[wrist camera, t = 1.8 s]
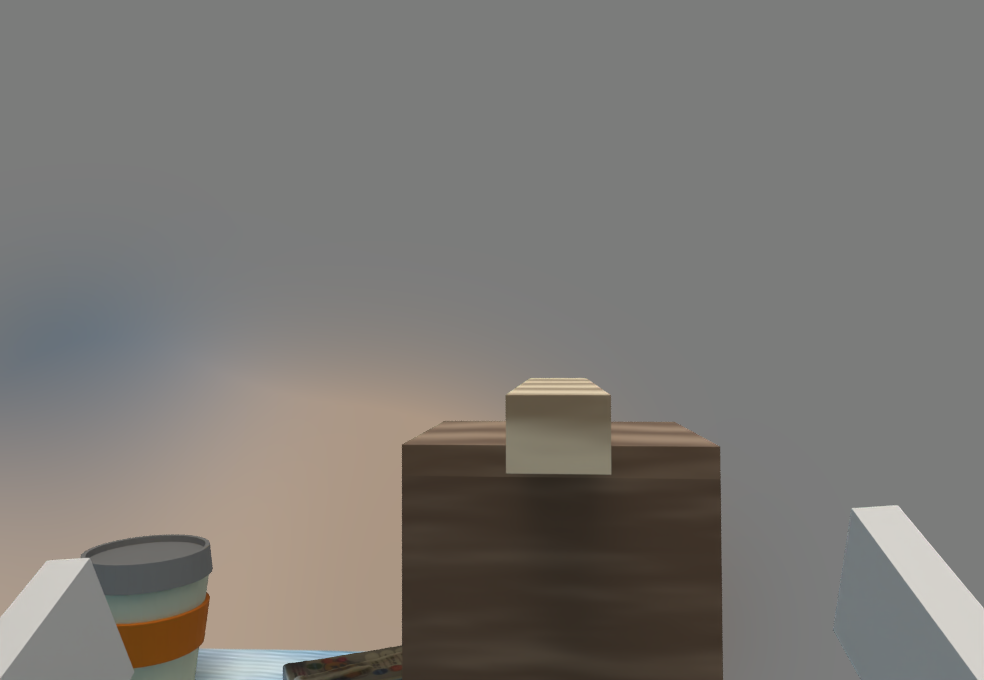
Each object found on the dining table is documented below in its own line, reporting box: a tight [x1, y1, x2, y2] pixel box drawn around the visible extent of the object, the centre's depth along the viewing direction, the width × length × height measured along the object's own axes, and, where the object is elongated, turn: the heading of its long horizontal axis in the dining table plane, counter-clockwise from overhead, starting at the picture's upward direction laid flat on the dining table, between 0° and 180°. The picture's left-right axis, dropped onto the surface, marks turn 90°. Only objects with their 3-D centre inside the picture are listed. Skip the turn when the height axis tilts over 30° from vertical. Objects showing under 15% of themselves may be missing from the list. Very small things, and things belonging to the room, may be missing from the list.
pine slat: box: [506, 378, 611, 475], centre depth 39 cm, size 24×4×3 cm, turn 175°
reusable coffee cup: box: [81, 535, 213, 680], centre depth 74 cm, size 12×13×15 cm
